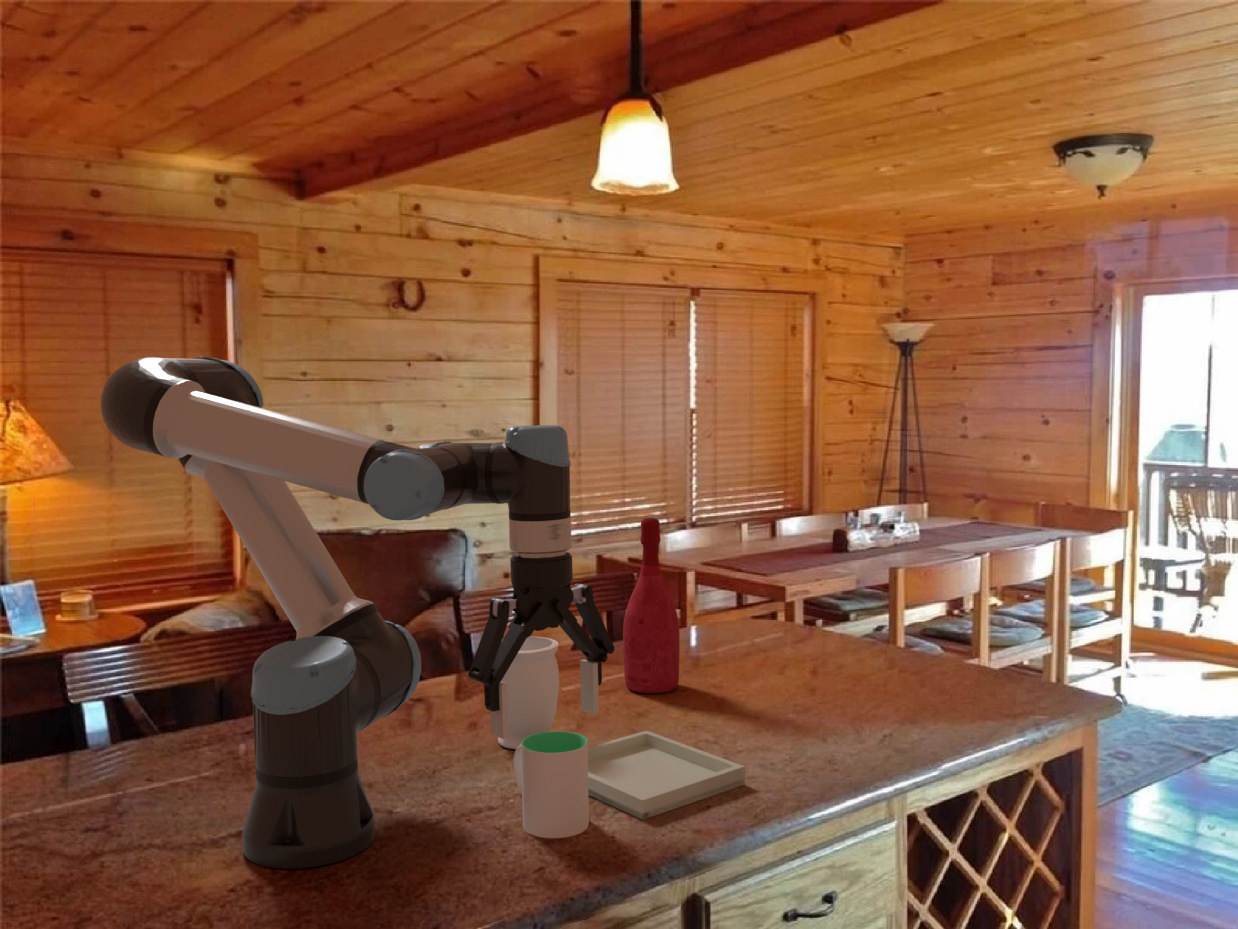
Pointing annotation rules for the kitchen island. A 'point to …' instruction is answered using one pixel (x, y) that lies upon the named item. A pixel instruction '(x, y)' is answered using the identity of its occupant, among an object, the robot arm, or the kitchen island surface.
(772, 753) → the kitchen island surface
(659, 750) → the tray
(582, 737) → the mug
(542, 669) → the jar
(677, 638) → the wine bottle
